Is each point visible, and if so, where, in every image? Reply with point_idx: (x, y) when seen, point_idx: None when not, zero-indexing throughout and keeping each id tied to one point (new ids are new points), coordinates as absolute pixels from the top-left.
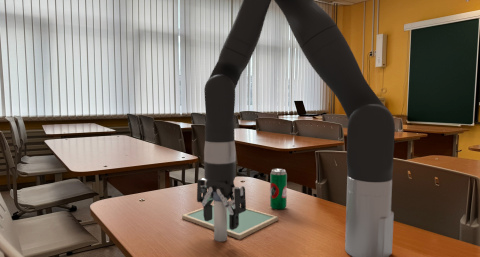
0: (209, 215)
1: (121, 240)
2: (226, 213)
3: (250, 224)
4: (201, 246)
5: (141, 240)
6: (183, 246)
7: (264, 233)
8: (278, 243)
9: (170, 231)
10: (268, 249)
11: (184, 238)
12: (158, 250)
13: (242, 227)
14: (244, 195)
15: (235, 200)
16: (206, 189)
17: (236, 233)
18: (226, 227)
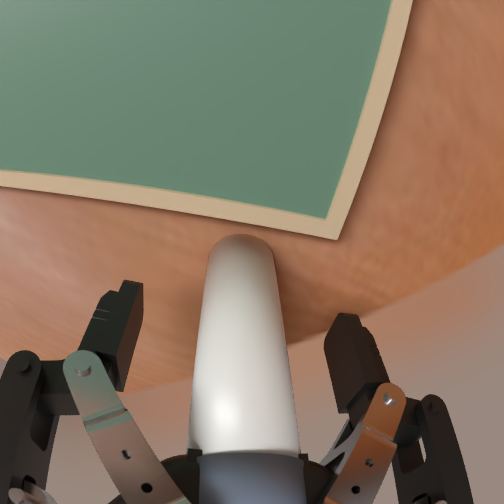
0: (135, 321)
1: None
2: (290, 373)
3: (330, 53)
4: None
5: (44, 359)
6: (160, 356)
7: (424, 110)
8: (485, 193)
9: (29, 291)
10: (456, 253)
11: None
12: (127, 385)
13: (302, 121)
14: (463, 487)
15: (401, 493)
16: (21, 451)
17: (312, 228)
18: (280, 304)
